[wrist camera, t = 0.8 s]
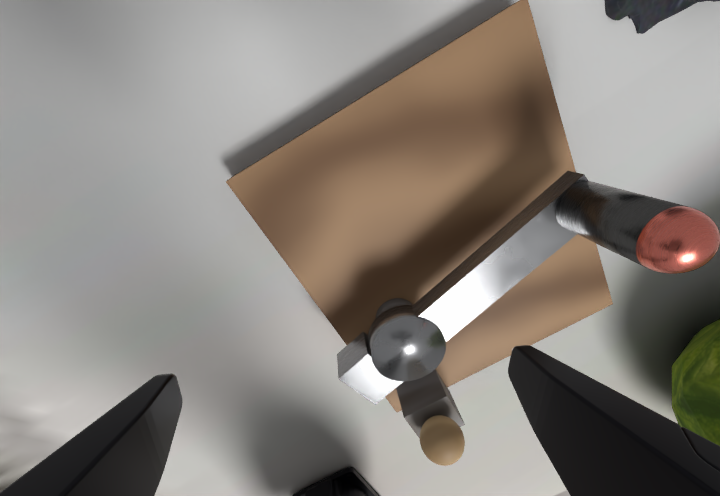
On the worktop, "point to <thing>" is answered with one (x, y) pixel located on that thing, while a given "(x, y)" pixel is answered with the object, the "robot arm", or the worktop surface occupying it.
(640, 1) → the dark slate chunk
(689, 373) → the lettuce
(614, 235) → the lever
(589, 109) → the worktop surface
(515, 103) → the tan wooden panel
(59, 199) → the worktop surface
